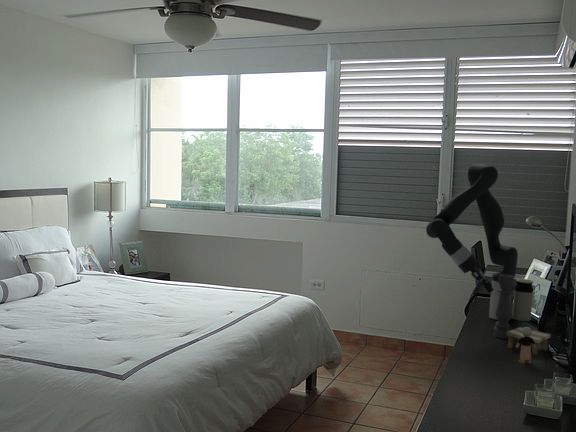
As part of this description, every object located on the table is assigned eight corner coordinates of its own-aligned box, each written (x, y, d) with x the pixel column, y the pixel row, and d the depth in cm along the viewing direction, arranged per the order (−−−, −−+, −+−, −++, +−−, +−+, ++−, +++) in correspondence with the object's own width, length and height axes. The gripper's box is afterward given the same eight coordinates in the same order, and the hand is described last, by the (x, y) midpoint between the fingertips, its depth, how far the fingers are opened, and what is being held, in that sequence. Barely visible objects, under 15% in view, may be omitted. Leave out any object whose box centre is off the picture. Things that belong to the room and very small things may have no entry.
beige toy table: (518, 342, 239) (519, 327, 239) (549, 349, 231) (550, 334, 230) (505, 347, 231) (506, 332, 230) (536, 355, 222) (538, 339, 222)
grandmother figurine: (528, 359, 218) (531, 324, 217) (536, 363, 214) (539, 327, 213) (511, 361, 215) (514, 326, 214) (519, 364, 211) (522, 329, 210)
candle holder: (509, 339, 242) (515, 277, 240) (493, 337, 244) (498, 276, 242) (509, 335, 248) (514, 275, 246) (493, 333, 250) (498, 273, 248)
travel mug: (533, 322, 272) (536, 282, 270) (515, 321, 272) (518, 281, 271) (526, 317, 280) (530, 279, 278) (509, 316, 280) (512, 278, 278)
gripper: (471, 255, 240) (500, 286, 238) (470, 250, 254) (497, 280, 252) (456, 267, 242) (484, 298, 240) (456, 262, 255) (482, 291, 254)
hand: (491, 289), depth 246 cm, fingers open, 8 cm apart
